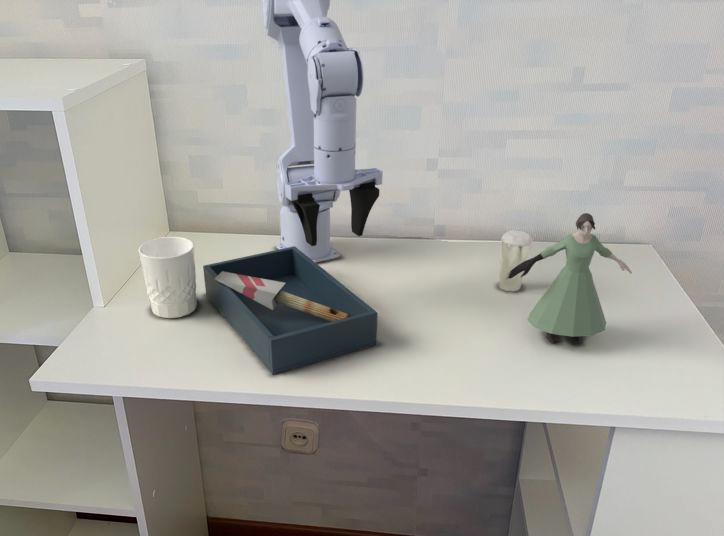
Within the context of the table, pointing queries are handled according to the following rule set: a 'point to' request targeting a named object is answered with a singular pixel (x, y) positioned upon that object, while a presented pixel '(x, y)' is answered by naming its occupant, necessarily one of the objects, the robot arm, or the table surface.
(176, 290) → the white cup
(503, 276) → the milkshake
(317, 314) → the paintbrush
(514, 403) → the table surface
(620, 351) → the table surface
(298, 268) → the tub
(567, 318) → the character figurine
